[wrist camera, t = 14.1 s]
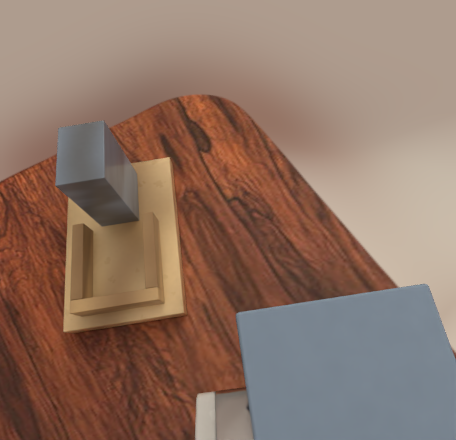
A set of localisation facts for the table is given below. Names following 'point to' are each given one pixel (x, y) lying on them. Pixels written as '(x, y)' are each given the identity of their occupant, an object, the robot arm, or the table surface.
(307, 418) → the loose pad
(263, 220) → the table surface
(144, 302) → the pad board
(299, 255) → the table surface
